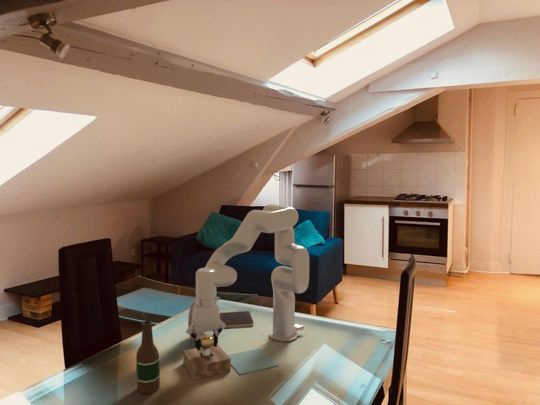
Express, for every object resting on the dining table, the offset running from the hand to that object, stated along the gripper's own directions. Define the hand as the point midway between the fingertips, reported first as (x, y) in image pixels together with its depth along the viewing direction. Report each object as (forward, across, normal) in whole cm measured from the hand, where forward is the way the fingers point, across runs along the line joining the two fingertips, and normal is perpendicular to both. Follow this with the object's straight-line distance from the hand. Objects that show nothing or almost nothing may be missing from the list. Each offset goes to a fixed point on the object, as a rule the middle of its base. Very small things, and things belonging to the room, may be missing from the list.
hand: (206, 346), depth 165 cm
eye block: (+8, 0, 0) cm, 8 cm away
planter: (+8, -4, -24) cm, 26 cm away
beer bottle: (+8, +23, +6) cm, 25 cm away
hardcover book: (+9, -24, -39) cm, 47 cm away
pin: (+8, 0, 0) cm, 8 cm away
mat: (+8, -17, +3) cm, 19 cm away
